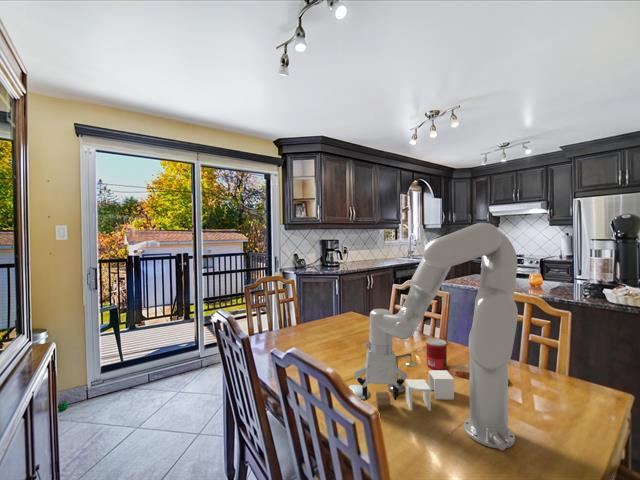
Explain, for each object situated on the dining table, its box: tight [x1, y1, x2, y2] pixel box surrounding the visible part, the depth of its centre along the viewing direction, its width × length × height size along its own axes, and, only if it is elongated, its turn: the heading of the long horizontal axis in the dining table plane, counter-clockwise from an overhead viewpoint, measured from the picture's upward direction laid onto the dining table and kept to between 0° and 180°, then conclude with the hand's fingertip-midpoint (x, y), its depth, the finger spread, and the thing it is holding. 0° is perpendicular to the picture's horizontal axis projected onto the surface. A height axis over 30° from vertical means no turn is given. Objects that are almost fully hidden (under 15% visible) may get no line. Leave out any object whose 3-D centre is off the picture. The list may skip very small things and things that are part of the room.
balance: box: [387, 353, 418, 395], centre depth 110 cm, size 6×15×13 cm, turn 87°
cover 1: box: [404, 378, 432, 412], centre depth 100 cm, size 6×6×7 cm
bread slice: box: [447, 364, 511, 384], centre depth 119 cm, size 18×18×4 cm
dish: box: [348, 384, 370, 401], centre depth 108 cm, size 9×9×1 cm
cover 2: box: [428, 369, 455, 400], centre depth 106 cm, size 6×6×7 cm
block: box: [375, 391, 391, 411], centre depth 99 cm, size 4×4×4 cm
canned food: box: [426, 337, 448, 370], centre depth 128 cm, size 8×8×11 cm
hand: (380, 397), depth 100 cm, fingers open, 9 cm apart
